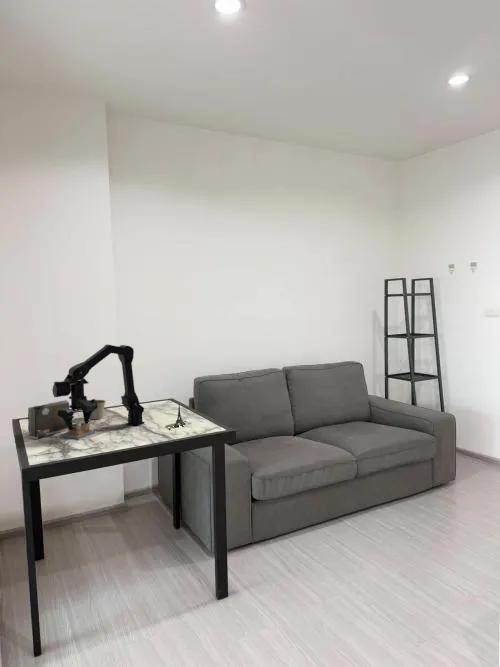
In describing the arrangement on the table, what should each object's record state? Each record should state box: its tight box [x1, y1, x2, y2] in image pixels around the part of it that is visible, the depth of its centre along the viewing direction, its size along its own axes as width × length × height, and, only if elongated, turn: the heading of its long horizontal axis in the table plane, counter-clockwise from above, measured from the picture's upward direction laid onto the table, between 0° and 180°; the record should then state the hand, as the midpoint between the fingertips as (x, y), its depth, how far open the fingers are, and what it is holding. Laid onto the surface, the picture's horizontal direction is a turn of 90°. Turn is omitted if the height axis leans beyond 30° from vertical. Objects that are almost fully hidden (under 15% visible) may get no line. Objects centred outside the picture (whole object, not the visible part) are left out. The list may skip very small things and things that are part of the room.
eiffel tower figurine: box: [164, 402, 187, 429], centre depth 233 cm, size 15×10×13 cm
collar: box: [67, 422, 91, 435], centre depth 219 cm, size 7×7×4 cm
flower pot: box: [90, 399, 107, 420], centre depth 249 cm, size 9×9×9 cm
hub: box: [62, 422, 96, 440], centre depth 219 cm, size 10×10×5 cm
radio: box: [26, 399, 70, 440], centre depth 223 cm, size 23×9×15 cm, turn 151°
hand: (78, 427), depth 219 cm, fingers open, 9 cm apart
